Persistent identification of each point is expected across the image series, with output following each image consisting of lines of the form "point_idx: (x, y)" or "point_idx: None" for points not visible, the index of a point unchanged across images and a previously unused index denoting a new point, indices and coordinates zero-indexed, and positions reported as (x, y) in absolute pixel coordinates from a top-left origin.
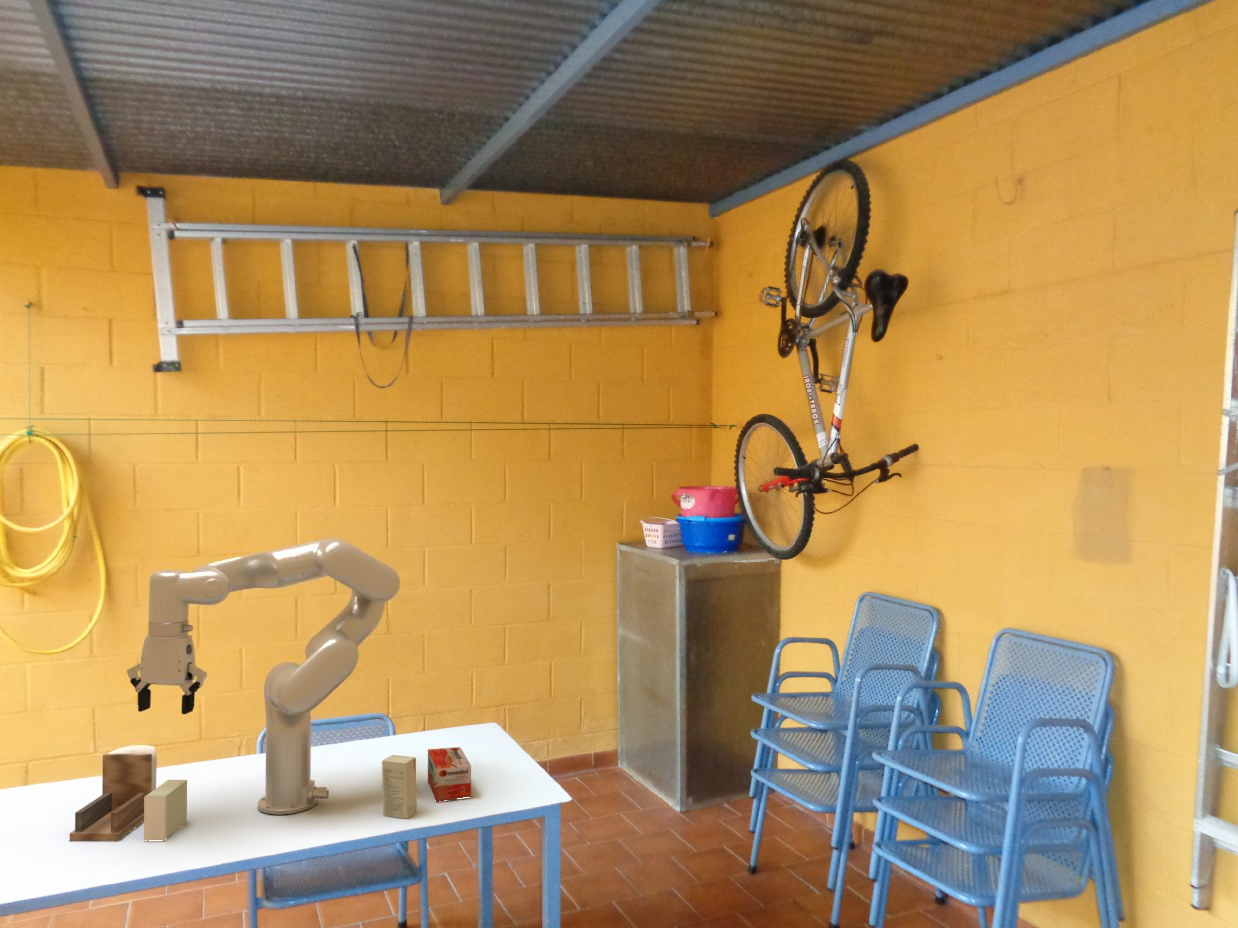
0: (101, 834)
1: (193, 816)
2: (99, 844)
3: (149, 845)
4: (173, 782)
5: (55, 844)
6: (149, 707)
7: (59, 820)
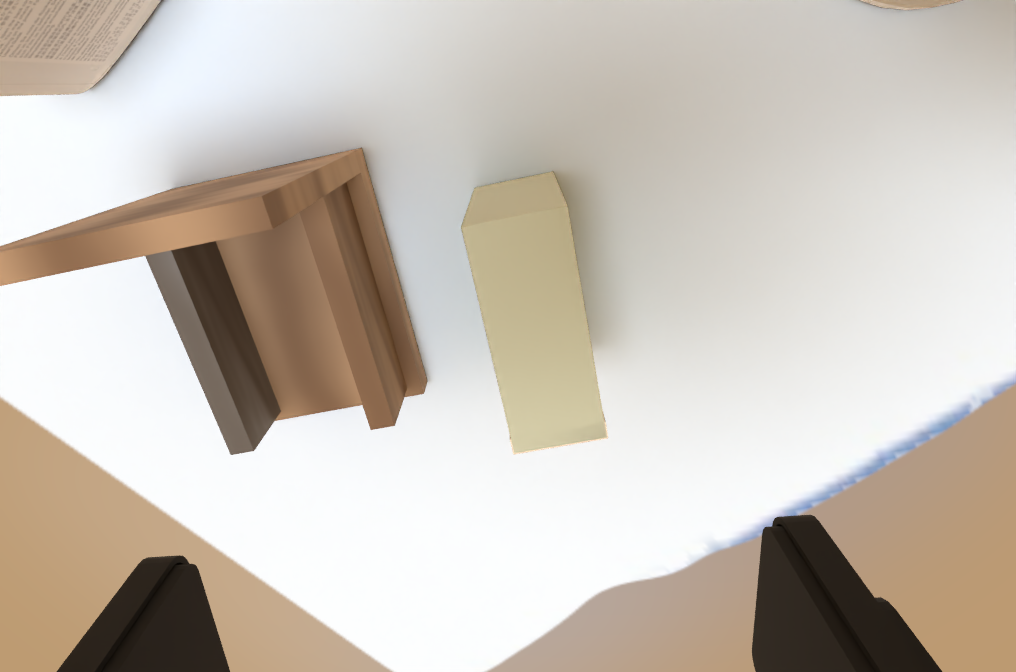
0: (361, 403)
1: (543, 107)
2: None
3: None
4: (519, 259)
5: None
6: (194, 574)
7: None
